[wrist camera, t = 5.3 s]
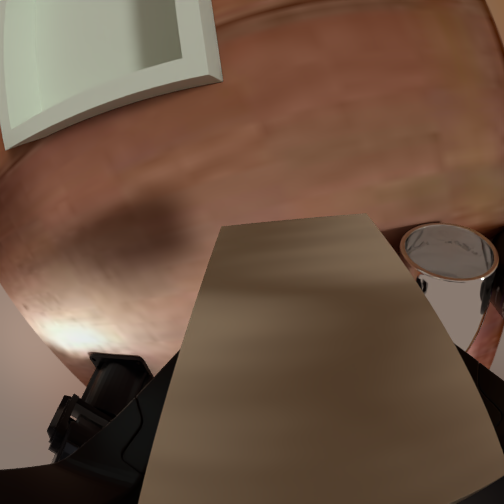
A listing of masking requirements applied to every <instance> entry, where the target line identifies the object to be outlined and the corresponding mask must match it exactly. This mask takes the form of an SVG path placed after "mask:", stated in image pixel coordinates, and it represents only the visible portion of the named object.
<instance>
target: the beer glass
mask: <svg viewBox="0 0 504 504" xmlns="http://www.w3.org/2000/svg"><path fill="white" fill-rule="evenodd" d="M399 258H400V259H401V260H402V262H403V263H404V265H405V266H406V268H407V269H408V270H409V272H410V273H411V275H412V276H413V278H414V279H415V281H416V282H417V284H418V285H419V287H420V288H421V290H422V291H423V293H424V294H425V296H426V298H427V299H428V301H429V302H430V304H431V305H432V307H433V309H434V310H435V312H436V314H437V315H438V317H439V319H440V320H441V322H442V324H443V325H444V327H445V329H446V330H447V332H448V334H449V336H450V337H451V339H452V341H453V343H455V344H456V345H457V346H459V347H460V348H461V349H463V350H464V351H465V352H468V350H469V349H470V347H471V345H472V344H473V342H474V340H475V339H476V337H477V335H478V333H479V331H480V328H481V326H482V324H483V321H484V319H485V316H486V313H487V310H488V306H489V303H490V299H491V295H492V291H493V286H494V281H495V276H496V271H497V267H498V263H499V256H498V252H497V250H496V248H495V246H494V245H493V244H492V243H491V242H490V241H489V240H488V239H487V238H486V237H485V236H483V235H482V234H480V233H479V232H477V231H475V230H472V229H470V228H467V227H464V226H461V225H457V224H451V223H429V224H424V225H420V226H417V227H415V228H412V229H411V230H409V231H408V232H406V233H405V234H404V236H403V237H402V239H401V241H400V252H399Z"/></svg>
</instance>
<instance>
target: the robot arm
mask: <svg viewBox="0 0 504 504" xmlns="http://www.w3.org/2000/svg"><path fill="white" fill-rule="evenodd" d="M454 345H455V346H456V348H457V350H458V352H459V354H460V356H461V358H462V359H463V361H464V363H465V365H466V367H467V369H468V371H469V373H470V375H471V377H472V379H473V381H474V383H475V385H476V387H477V390H478V392H479V394H480V396H481V398H482V401H483V403H484V405H485V407H486V410H487V412H488V414H489V417H490V419H491V422H492V424H493V427H494V429H495V432H496V434H497V437H498V440H499V443H500V445H501V448H502V451H503V454H504V381H503V380H502V379H501V378H499V377H498V376H497V375H495V374H494V373H493V372H491V371H490V370H489V369H487V368H486V367H485V366H483V365H482V364H481V363H479V362H478V361H477V360H476V359H474V358H473V357H472V356H470V355H469V354H468V353H467V352H465V351H464V350H463V349H461V348H460V347H459V346H457V345H456V344H455V343H454ZM179 352H180V350H179V351H178V352H177V353H176V354H175V355H174V356H173V357H172V359H171V360H170V361H169V362H168V363H167V364H166V365H165V366H164V367H163V368H162V369H161V370H160V371H159V372H158V373H157V375H156V376H155V377H153V375H152V373H151V371H150V370H149V368H148V366H147V364H146V363H145V361H144V360H143V359H142V358H140V357H128V356H115V355H104V354H94V353H93V354H91V356H90V359H91V361H92V362H93V364H94V365H95V367H96V369H95V371H94V373H93V375H92V377H91V379H90V381H89V383H88V385H87V388H86V390H85V392H84V394H83V396H82V398H81V399H80V398H79V396H77V395H76V394H73V396H72V397H70V396H66V395H64V397H63V399H62V401H61V403H60V405H59V407H58V409H57V411H56V413H55V415H54V417H53V419H52V421H51V423H50V425H49V427H48V430H47V433H48V435H49V438H50V441H49V443H51V444H50V447H49V450H50V451H51V452H53V453H55V455H54V458H53V461H52V463H51V464H48V465H41V466H34V467H26V468H16V469H4V470H0V504H138V502H139V497H140V493H141V489H142V485H143V481H144V477H145V473H146V469H147V465H148V461H149V457H150V453H151V450H152V446H153V442H154V438H155V435H156V431H157V427H158V424H159V420H160V417H161V413H162V410H163V406H164V403H165V399H166V396H167V392H168V389H169V385H170V382H171V379H172V375H173V372H174V369H175V365H176V362H177V359H178V356H179ZM70 416H73V417H75V418H76V419H77V420H76V421H75V420H74V419H72V418H71V417H70ZM457 504H504V476H503V477H501V478H500V479H498V480H497V481H495V482H493V483H492V484H490V485H489V486H487V487H485V488H484V489H482V490H480V491H479V492H477V493H475V494H474V495H472V496H470V497H468V498H466V499H465V500H463V501H461V502H459V503H457Z"/></svg>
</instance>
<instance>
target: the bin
mask: <svg viewBox="0 0 504 504" xmlns="http://www.w3.org/2000/svg"><path fill="white" fill-rule="evenodd" d="M218 82H223V77H222V70H221V64H220V57H219V50H218V44H217V37H216V30H215V23H214V17H213V10H212V3H211V0H0V124H1V130H2V136H3V141H4V146H5V150H8V149H11V148H14V147H16V146H19V145H22V144H25V143H28V142H31V141H34V140H38V139H41V138H44V137H46V136H48V135H50V134H53V133H55V132H57V131H59V130H61V129H64V128H66V127H68V126H71V125H73V124H75V123H78V122H80V121H83V120H85V119H88V118H91V117H93V116H96V115H99V114H101V113H104V112H107V111H110V110H113V109H116V108H119V107H122V106H125V105H128V104H131V103H134V102H138V101H141V100H144V99H148V98H151V97H155V96H159V95H163V94H167V93H171V92H175V91H179V90H183V89H188V88H192V87H197V86H202V85H207V84H213V83H218Z"/></svg>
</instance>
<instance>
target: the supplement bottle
mask: <svg viewBox="0 0 504 504" xmlns="http://www.w3.org/2000/svg"><path fill="white" fill-rule="evenodd" d="M491 243H492V244H493V245H494V246H495V248H496V250H497V252H498V256H499V263H498V267H497V271H496V276H495V281H494V286H493V291H492V295H491V299H490V302H491V303H492V304H493V306H494V307H495V308H496V310H497V311H498V312H499V314H500V315H501V316H502V318H503V319H504V230H503V231H502V232H500V233H499V234H498V235H497V236H496V237H495V238H494V239H493V241H492V242H491Z"/></svg>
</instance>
